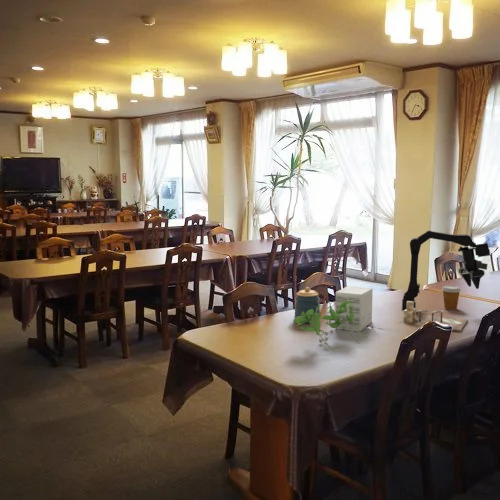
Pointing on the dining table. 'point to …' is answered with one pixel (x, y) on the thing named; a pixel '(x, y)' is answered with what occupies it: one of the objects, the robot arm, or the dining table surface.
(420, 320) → the wire board
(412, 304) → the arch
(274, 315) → the dining table surface
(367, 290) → the supplement box
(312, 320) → the plant cuttings
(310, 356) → the dining table surface
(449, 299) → the disposable coffee cup
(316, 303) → the canister
